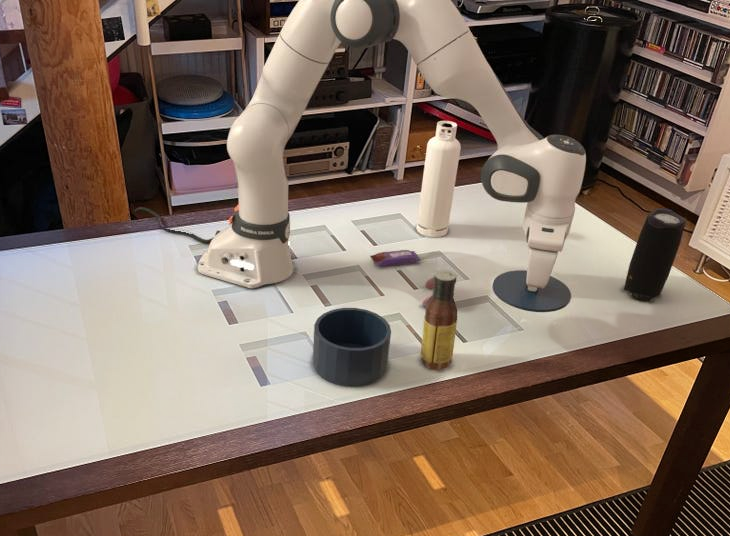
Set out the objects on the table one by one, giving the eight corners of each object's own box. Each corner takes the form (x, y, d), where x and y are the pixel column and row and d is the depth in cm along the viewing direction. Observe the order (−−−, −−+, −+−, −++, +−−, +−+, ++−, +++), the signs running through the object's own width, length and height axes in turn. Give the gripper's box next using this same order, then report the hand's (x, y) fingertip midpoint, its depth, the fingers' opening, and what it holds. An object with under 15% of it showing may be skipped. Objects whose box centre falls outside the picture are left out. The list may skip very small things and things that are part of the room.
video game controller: (437, 316, 168) (456, 294, 164) (420, 306, 168) (438, 283, 164) (440, 294, 176) (457, 272, 172) (423, 284, 175) (441, 261, 171)
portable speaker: (625, 301, 173) (651, 223, 161) (618, 281, 180) (642, 204, 169) (664, 305, 172) (693, 227, 160) (656, 285, 179) (683, 208, 168)
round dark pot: (304, 378, 147) (305, 342, 142) (323, 337, 158) (325, 302, 153) (378, 393, 144) (382, 356, 139) (392, 350, 155) (397, 315, 150)
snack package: (414, 247, 187) (422, 257, 183) (413, 254, 188) (421, 264, 184) (370, 252, 184) (377, 262, 180) (369, 259, 185) (376, 269, 182)
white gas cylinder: (448, 225, 202) (465, 120, 185) (446, 238, 195) (463, 131, 179) (418, 221, 203) (431, 116, 186) (414, 234, 197) (428, 127, 180)
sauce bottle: (454, 357, 153) (470, 271, 142) (445, 374, 149) (461, 287, 137) (423, 349, 155) (436, 263, 144) (413, 365, 151) (426, 278, 139)
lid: (488, 307, 151) (493, 284, 148) (494, 270, 163) (499, 248, 160) (569, 320, 148) (576, 297, 145) (570, 281, 160) (576, 260, 157)
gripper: (532, 198, 155) (519, 258, 163) (528, 243, 139) (513, 307, 147) (564, 202, 154) (549, 263, 162) (563, 248, 138) (547, 312, 146)
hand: (532, 284), depth 154 cm, fingers closed on lid, 2 cm apart
